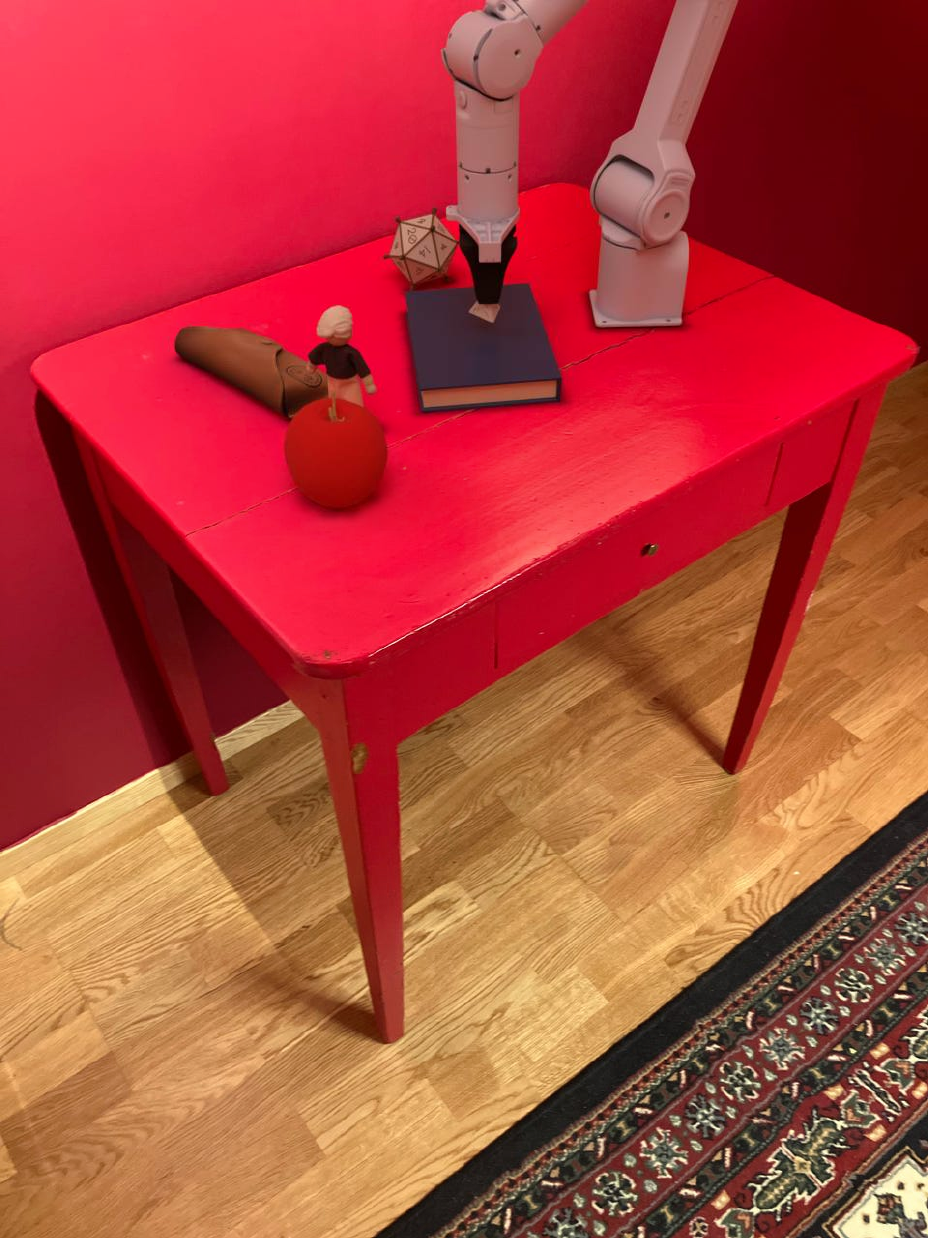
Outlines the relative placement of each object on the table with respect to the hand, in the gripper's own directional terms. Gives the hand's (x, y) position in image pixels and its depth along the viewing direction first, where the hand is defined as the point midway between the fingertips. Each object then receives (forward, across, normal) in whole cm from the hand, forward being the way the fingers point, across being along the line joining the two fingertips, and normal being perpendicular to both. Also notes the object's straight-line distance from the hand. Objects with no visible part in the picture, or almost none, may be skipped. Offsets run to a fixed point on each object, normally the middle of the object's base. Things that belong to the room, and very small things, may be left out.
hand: (487, 298), depth 104 cm
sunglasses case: (+7, +3, -24) cm, 25 cm away
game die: (+7, -17, -7) cm, 20 cm away
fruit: (+7, +23, -14) cm, 28 cm away
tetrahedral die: (+2, 0, 0) cm, 2 cm away
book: (+6, 0, -1) cm, 7 cm away
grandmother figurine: (+7, +13, -14) cm, 20 cm away
